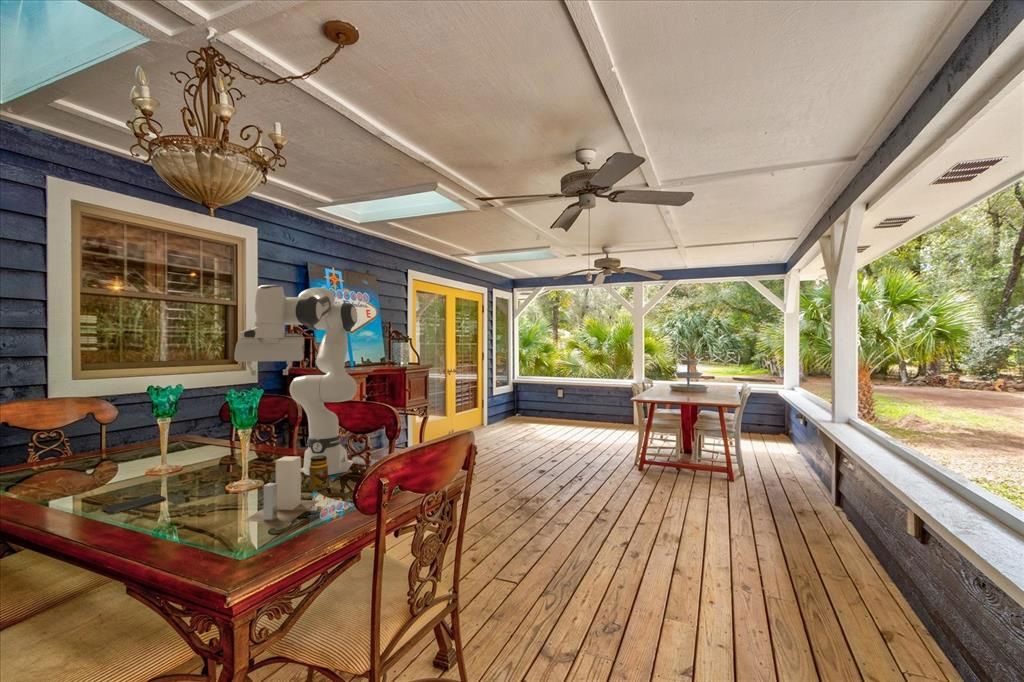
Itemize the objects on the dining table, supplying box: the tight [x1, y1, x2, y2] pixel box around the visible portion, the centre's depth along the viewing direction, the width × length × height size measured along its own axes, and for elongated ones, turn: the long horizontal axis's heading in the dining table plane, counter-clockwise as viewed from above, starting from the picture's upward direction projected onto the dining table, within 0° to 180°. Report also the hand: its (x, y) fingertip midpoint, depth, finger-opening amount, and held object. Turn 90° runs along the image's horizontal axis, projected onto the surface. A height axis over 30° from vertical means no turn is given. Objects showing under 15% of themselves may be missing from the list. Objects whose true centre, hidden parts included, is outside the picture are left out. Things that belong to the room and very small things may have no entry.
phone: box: [101, 494, 167, 514], centre depth 151 cm, size 8×1×15 cm
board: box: [243, 499, 319, 523], centre depth 143 cm, size 18×14×1 cm
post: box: [263, 482, 277, 521], centre depth 136 cm, size 3×3×10 cm
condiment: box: [308, 455, 329, 492], centre depth 165 cm, size 7×8×12 cm
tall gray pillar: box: [275, 455, 302, 510], centre depth 146 cm, size 5×5×15 cm
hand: (269, 375), depth 154 cm, fingers open, 8 cm apart
